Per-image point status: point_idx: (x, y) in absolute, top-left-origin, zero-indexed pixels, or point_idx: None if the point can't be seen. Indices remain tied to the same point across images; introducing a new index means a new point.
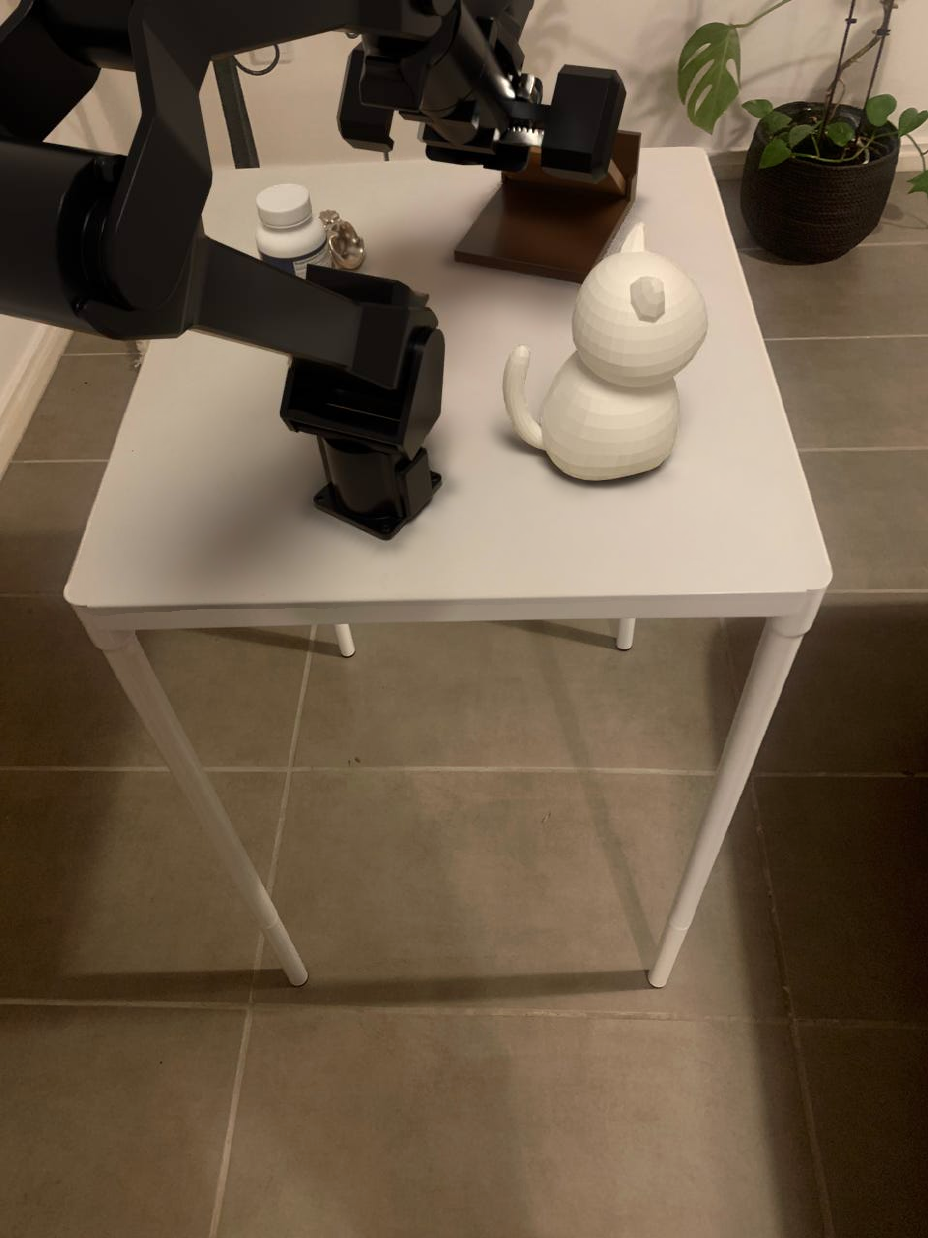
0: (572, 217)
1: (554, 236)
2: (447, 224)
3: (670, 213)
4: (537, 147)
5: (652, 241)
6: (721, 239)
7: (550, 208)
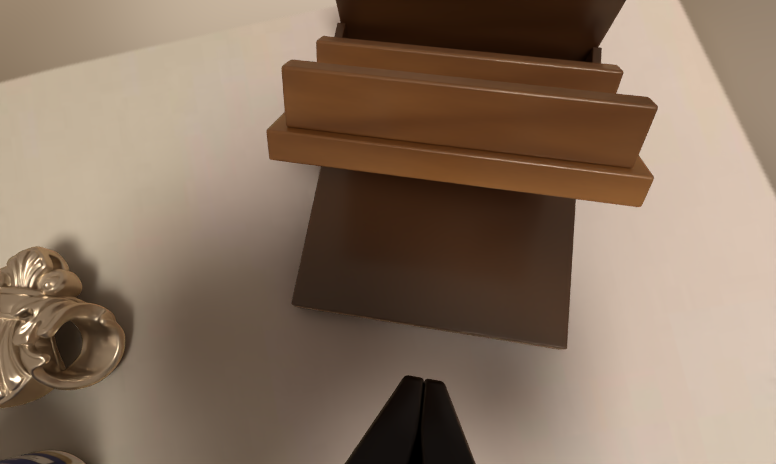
0: None
1: (471, 231)
2: (264, 192)
3: None
4: (452, 172)
5: None
6: (760, 169)
7: None
